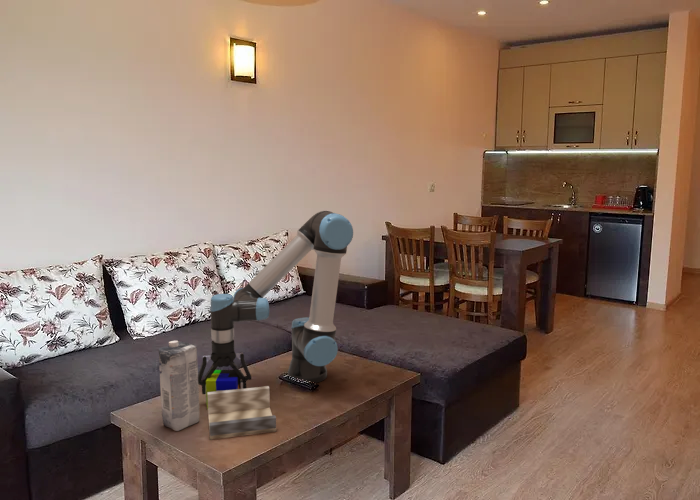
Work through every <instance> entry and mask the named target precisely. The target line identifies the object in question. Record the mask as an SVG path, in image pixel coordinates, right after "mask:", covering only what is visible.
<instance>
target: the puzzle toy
mask: <svg viewBox="0 0 700 500" xmlns="http://www.w3.org/2000/svg"><path fill="white" fill-rule="evenodd" d="M239 370H240V371H241V369H239ZM241 372H242V371H241ZM240 380H241V378H240V377H239V376H238V375H237V373H236V372H235V371H234V369H216V370H215V371H214V372H213V374H212V375H211V377H210V378H207V380H206V394H205V400H206V399H207V404H206V410H208V396H207V392H215V391H225V390H235V389H240Z"/></svg>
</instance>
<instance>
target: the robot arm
mask: <svg viewBox="0 0 700 500" xmlns="http://www.w3.org/2000/svg"><path fill="white" fill-rule="evenodd" d="M353 237H354V227H353V225H352V223H351V222H350V220H349V219H348V218H346V217H345V216H344V215H342V214H339V213H335V212H332V211H329V210H321V211H318V212H316V213H315V214H313V216H311V217H310V218H309V219H308V220H307V221H306V222H305V223H304V224H303V225H301V227H300V228H298V230H297V233H296V236H295V237H294V238H293V239H291V241H289V242H288V244H286V246H284V247H283V249H282V250H280V251H279V253H277V254H276V255H275V256H274V257H273V258H272V259H271V260H270V261H269V262H268V263H267V264H266V265H265V266H264V267H263V268H262V269H261V270H260V271H259V272H258V273H257V274H256V275H255V277H253V278H251V280H250V281H249V282H248V283H247V284H246V285H244V286H243V287H241V288H238V289H237V290H236V291H234V294H233V295H232V294H229V293H217V294H214V295H211V297H210V309H209V310H210V311H209V312H210V313H209V314H210V334H211V335H210V337H211V338H210V339H211V354H210V355H206V354H203V355H202V362H201V365H200V368H199V370H198V386H199V385H200V386H201V394H202V395H206V380H207V378H210V377H211V375H212V374H213V372H214V371H215V370H217V368H222V367H224V368H226V367H228V368H229V366H230V367H231V368H232V370H234V371H235V372H236V373H237V375H238V376H239V377H240V378H241V380H240V389H245V388H247V382H248V381H251V380H252V375H251V373H250V370H249V368H248V365H247V364H246V363H247V362H246V361H245V355H244V352H243V351H240V352H237V353H236V352H235V340H234V338H235V323H239V322H240V323H241V322H255V321H263V320H267V319H268V318H269V317H270V304H269V301H268V299H267V298H266V297H265V296H267V294H268V293H269V292H270V291H271V290H273V288H274V287H275V286H277V284H278V283H280V281H281V280H282V279H284V277H286V276H287V275H288V273H289V272H291V270H293V268H294V267H295V266H297V265H298V264H299V263H300V262H301V261H302V260H303V259H304V258H305V257H306V256H307V255H308V254H309V253H310V252H311V251H314V252H315V254H316V262H315V270H314V277H313V284H312V285H313V286H312V293H311V294H312V295H311V301H310V302H311V303H310V309H309V316H307V317H299V318H295V319H293V320H292V321H291V328H290V329H291V360H290V363H289V365H288V369H287V376H288V375H289V376H291V377H294V378H298V379H304V380H307V381H311V382H315V383H314V384H316V383H320V382H323V381H324V380H326V379H327V378H328V370H327V365H329V364H330V363H332V362H333V361H334V360H335V359H336V357H337V355H338V351H339V349H338V348H339V347H338V343H337V341H336V340H335V339H336V333H337V327H336V326H335V324H334V315H335V309H336V308H335V307H336V302H337V294H338V286H339V277H340V272H341V271H340V269H341V265H342V264H341V262H342V258H343V257H344V256H346V255H347V250H348V246H349V245H350V243H351V242H352V240H353ZM236 358H237V359H238V360H240V363H241V365H242V368H243V370H244V373H245V374H244V373H243V372H242V371H240V370H241V369H240V368H239V367H238V366H237V364H236V363H235V359H236ZM210 360H211V362H212V365H211V366H210V368H209V369H208V371H207V373H206V374H205V375H204V372H205V369H206V367H207V363H209V361H210ZM203 376H204V377H203ZM205 405H207V399H206V398H205Z"/></svg>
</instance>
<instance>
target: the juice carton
mask: <svg viewBox="0 0 700 500" xmlns="http://www.w3.org/2000/svg"><path fill="white" fill-rule="evenodd" d="M168 345H169V346H162V347H159V348H158V349H157V350H158V365H159V366H158V368H159V370H158V371H159V385H160V386H159V387H160V388H159V389H160V403H161V418H162V423H163V425H164V426H165V427H167V428H170V429H171V430H174V431H176V432H180V431H181V430H184V429H185V428H187V427H190V426H193V425H195V424H197V423H199V422H200V395H199V394H200V391H199V390H200V389H199V385H198V374H199V365H198V346H197V345H194V344H191V343H189V342H185V341H178V340H171V341H168Z"/></svg>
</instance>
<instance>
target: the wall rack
mask: <svg viewBox="0 0 700 500" xmlns="http://www.w3.org/2000/svg"><path fill="white" fill-rule="evenodd" d="M207 396H208V409H207V415H208V430H209V431H208V432H209V440H219V439H225V438H226V439H227V438H235V437H242V436H251V435H261V434H266V433H275V432H277V416H276V415H275V414H272V410H271V405H270V404H271V401H270V400H271V397H270V396H271V395H270V385H265V386H259V387H258V386H256V387H246V388H245V389H235V390H225V391H215V392H207Z"/></svg>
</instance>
